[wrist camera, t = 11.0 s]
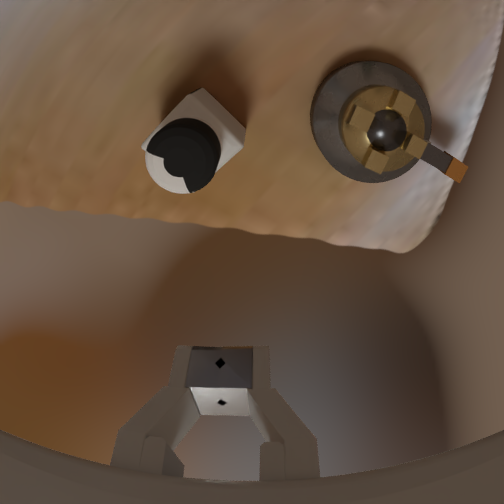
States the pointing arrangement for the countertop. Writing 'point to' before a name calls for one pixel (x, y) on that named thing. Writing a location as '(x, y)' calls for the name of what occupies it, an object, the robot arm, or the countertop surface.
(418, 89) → the plate
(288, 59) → the countertop surface
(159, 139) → the medicine bottle
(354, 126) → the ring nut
